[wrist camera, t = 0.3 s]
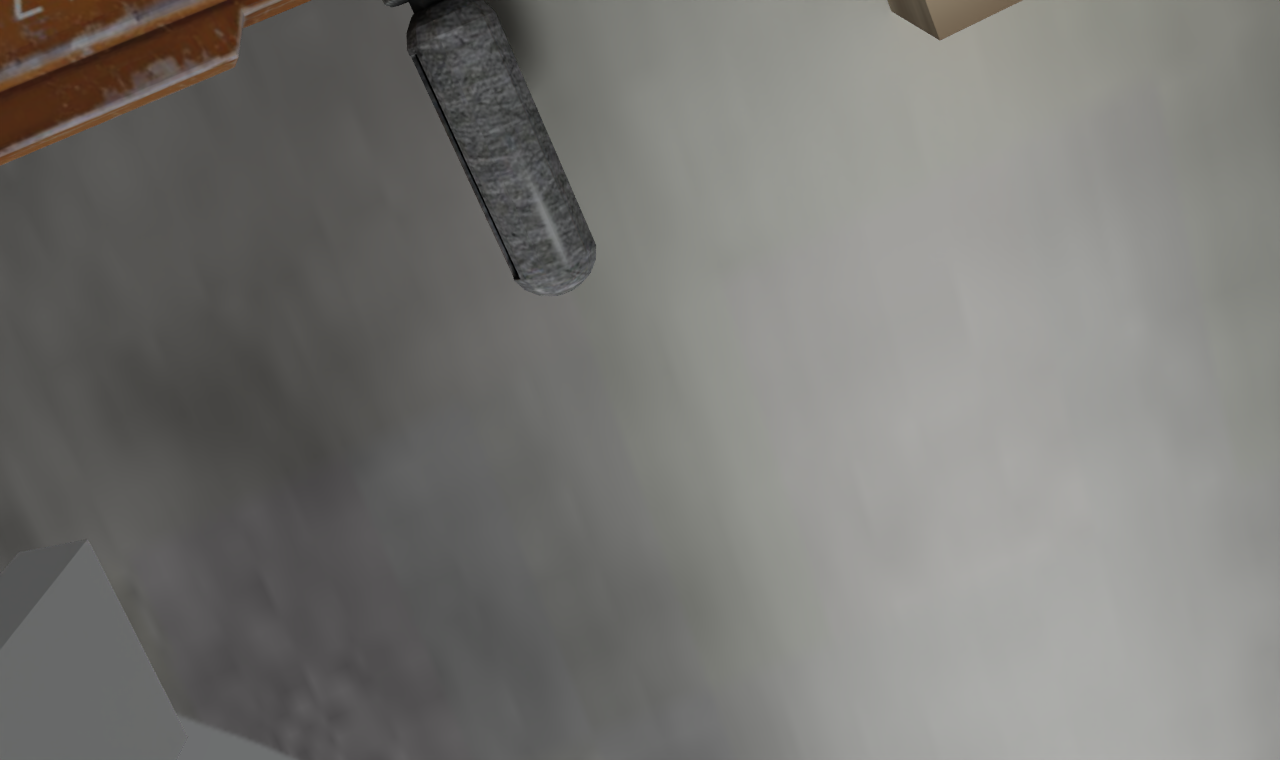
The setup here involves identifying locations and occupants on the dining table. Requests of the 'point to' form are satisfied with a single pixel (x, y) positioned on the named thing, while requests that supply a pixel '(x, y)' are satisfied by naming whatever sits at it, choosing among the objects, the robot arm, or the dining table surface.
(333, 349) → the dining table surface
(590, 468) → the dining table surface
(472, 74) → the tool
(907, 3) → the bore block
